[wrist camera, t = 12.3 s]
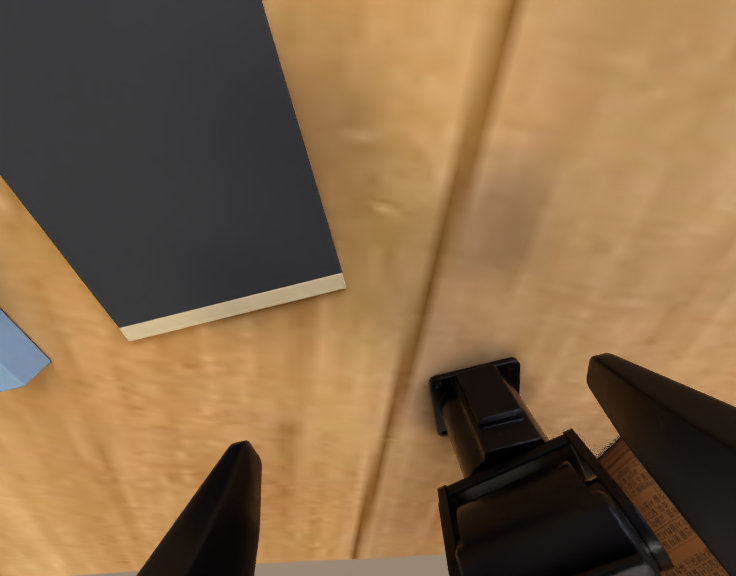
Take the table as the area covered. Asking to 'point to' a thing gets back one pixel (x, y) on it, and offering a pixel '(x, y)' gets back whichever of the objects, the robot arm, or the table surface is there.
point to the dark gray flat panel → (162, 157)
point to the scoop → (17, 356)
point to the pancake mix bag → (660, 515)
